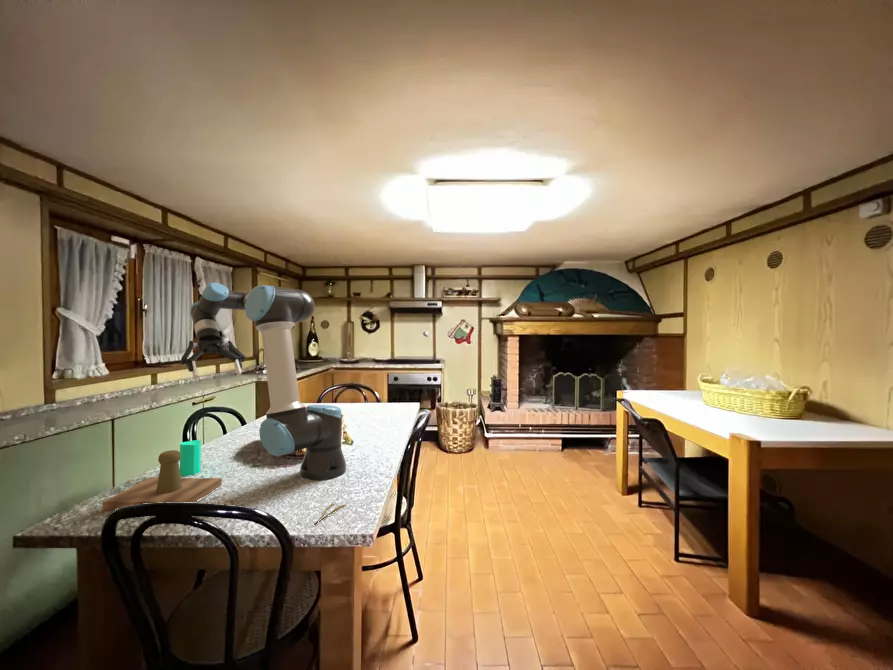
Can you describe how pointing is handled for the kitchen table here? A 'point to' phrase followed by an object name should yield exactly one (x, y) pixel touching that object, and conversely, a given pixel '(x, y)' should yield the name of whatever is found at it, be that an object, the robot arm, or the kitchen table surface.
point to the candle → (190, 457)
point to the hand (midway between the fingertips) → (218, 376)
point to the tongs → (329, 513)
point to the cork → (169, 472)
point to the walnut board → (147, 494)
